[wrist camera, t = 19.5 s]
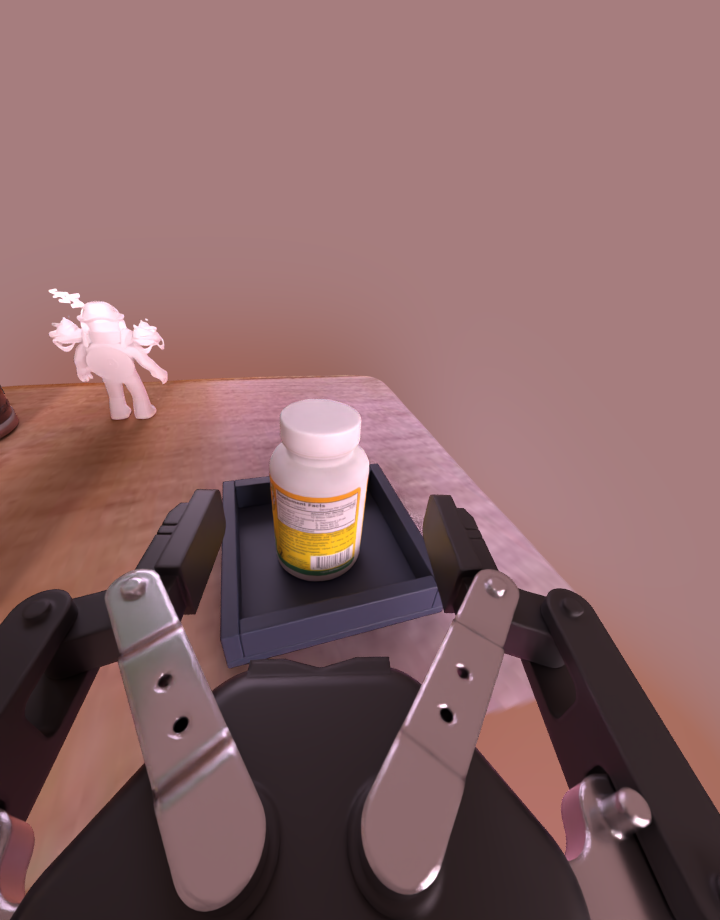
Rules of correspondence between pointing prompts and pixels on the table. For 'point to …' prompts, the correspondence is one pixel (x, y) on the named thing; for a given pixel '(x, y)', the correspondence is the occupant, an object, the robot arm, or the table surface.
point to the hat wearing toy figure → (110, 353)
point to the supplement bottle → (318, 489)
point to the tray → (317, 602)
